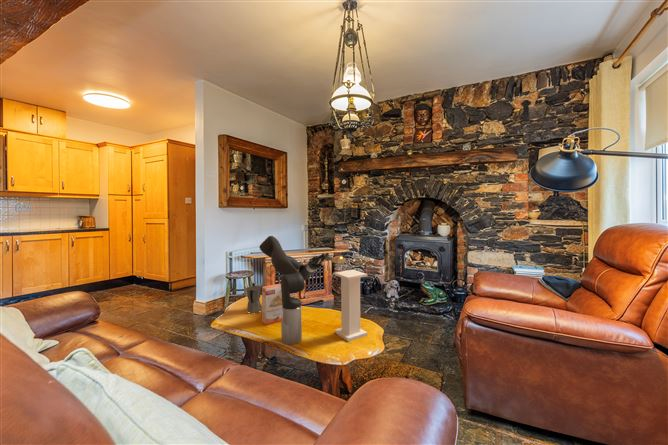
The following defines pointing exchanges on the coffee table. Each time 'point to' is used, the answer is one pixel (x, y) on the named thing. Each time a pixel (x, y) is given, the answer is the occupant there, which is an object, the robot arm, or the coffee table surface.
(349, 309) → the white pillar
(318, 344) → the coffee table surface
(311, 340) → the coffee table surface
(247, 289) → the coffeepot
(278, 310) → the cracker box
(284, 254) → the robot arm
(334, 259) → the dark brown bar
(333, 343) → the coffee table surface
